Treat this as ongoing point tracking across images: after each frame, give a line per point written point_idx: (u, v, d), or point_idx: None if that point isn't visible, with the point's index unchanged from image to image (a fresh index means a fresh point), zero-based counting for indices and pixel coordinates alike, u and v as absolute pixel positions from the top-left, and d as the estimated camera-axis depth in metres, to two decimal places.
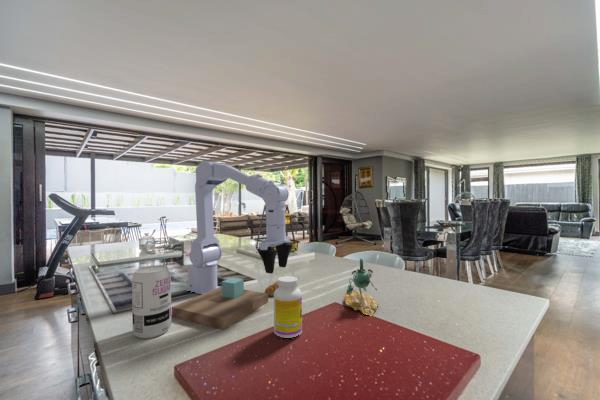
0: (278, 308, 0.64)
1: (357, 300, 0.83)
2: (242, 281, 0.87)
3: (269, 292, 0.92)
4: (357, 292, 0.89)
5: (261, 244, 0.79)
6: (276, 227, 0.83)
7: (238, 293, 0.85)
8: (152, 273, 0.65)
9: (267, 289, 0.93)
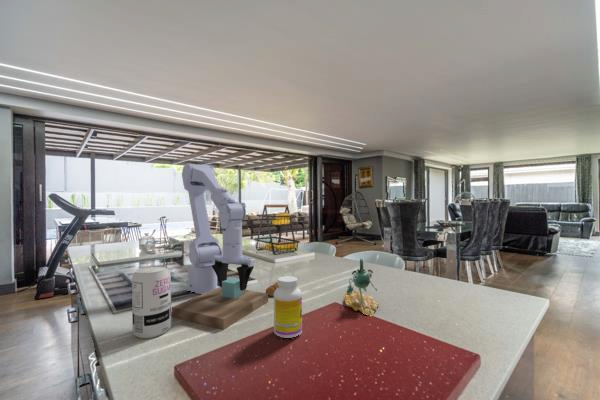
0: (278, 308, 0.64)
1: (357, 300, 0.83)
2: None
3: (270, 292, 0.91)
4: (357, 292, 0.89)
5: None
6: None
7: (238, 293, 0.85)
8: (152, 273, 0.65)
9: (268, 289, 0.93)
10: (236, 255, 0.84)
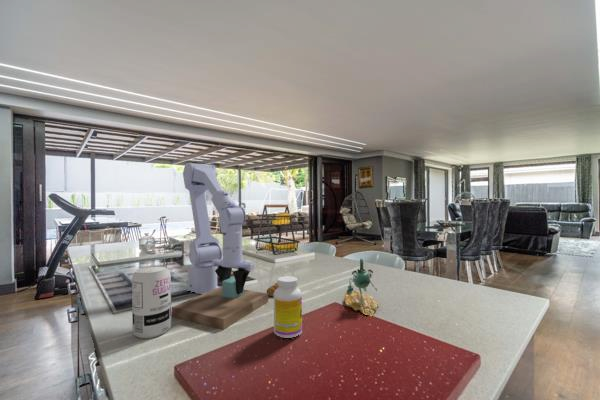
0: (278, 308, 0.64)
1: (357, 300, 0.83)
2: None
3: (271, 293, 0.91)
4: (357, 292, 0.89)
5: None
6: None
7: None
8: (152, 273, 0.65)
9: (269, 290, 0.93)
10: (236, 259, 0.84)
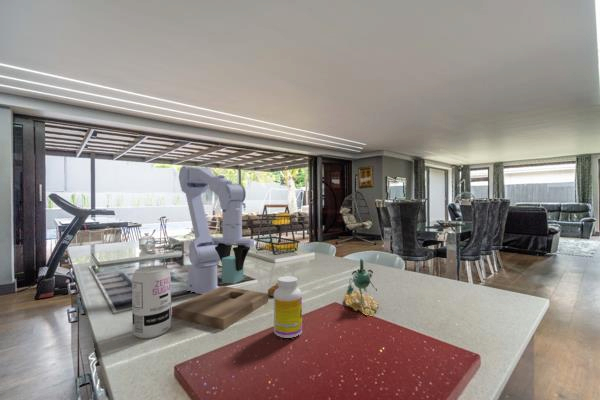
0: (278, 308, 0.64)
1: (357, 300, 0.83)
2: None
3: (272, 293, 0.91)
4: (357, 292, 0.89)
5: None
6: (222, 226, 0.85)
7: None
8: (152, 273, 0.65)
9: (270, 290, 0.92)
10: (236, 236, 0.84)
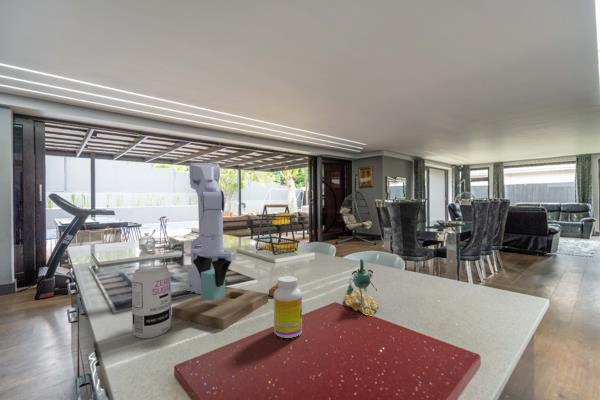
0: (278, 308, 0.64)
1: (357, 300, 0.83)
2: None
3: (273, 293, 0.91)
4: (357, 292, 0.89)
5: None
6: None
7: None
8: (152, 273, 0.65)
9: (271, 290, 0.92)
10: (216, 248, 0.76)
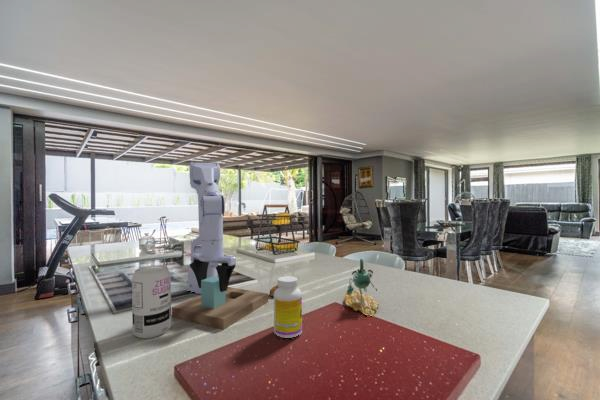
0: (278, 308, 0.64)
1: (357, 300, 0.83)
2: None
3: None
4: (357, 292, 0.89)
5: None
6: None
7: (218, 293, 0.77)
8: (152, 273, 0.65)
9: (272, 290, 0.92)
10: (216, 253, 0.76)
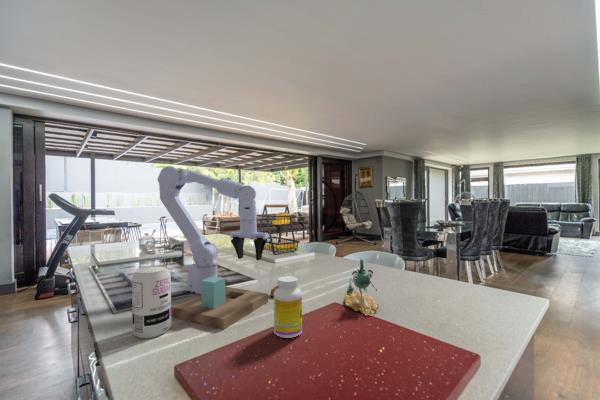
0: (278, 308, 0.64)
1: (357, 301, 0.83)
2: (223, 280, 0.79)
3: None
4: (357, 292, 0.89)
5: None
6: (240, 222, 0.99)
7: (218, 293, 0.77)
8: (152, 273, 0.65)
9: (273, 290, 0.92)
10: (252, 230, 0.97)
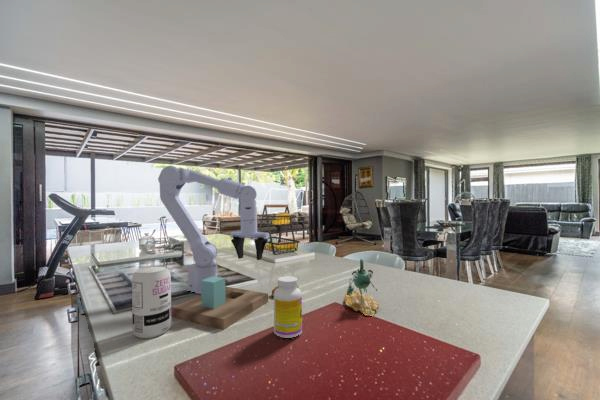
0: (278, 308, 0.64)
1: (357, 301, 0.83)
2: (223, 280, 0.79)
3: None
4: (357, 293, 0.89)
5: None
6: None
7: (218, 293, 0.77)
8: (152, 273, 0.65)
9: (274, 291, 0.91)
10: (253, 230, 0.98)
